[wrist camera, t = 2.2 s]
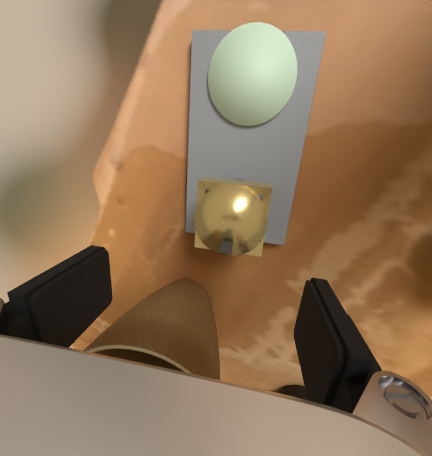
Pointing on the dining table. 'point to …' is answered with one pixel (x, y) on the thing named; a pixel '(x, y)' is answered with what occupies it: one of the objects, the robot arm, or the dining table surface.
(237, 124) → the board
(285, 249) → the dining table surface
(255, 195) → the gold domed block
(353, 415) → the robot arm
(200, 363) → the plant pot
